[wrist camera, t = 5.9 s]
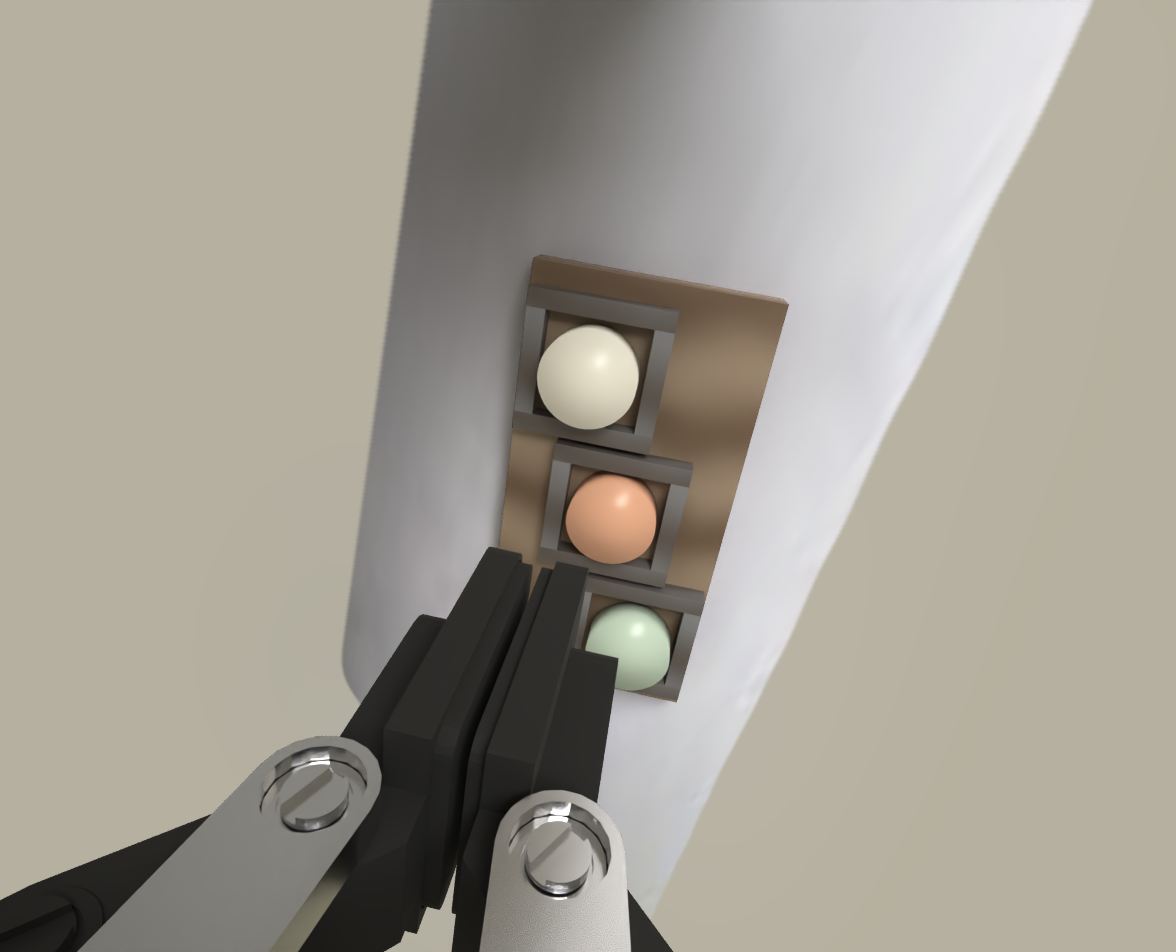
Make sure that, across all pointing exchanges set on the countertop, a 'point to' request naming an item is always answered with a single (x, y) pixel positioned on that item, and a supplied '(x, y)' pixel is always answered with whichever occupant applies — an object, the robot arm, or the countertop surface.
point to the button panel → (642, 435)
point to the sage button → (632, 643)
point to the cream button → (589, 376)
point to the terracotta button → (612, 517)
